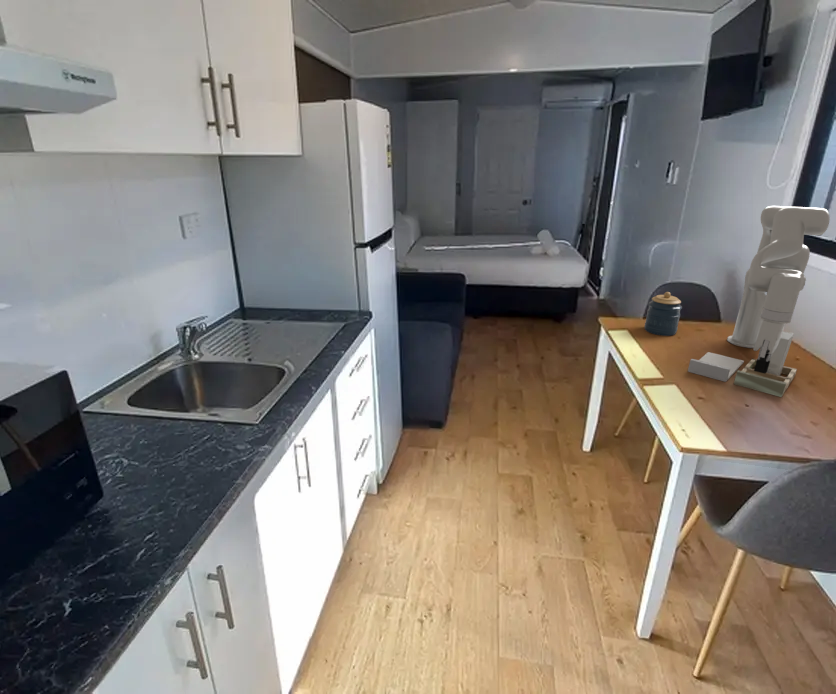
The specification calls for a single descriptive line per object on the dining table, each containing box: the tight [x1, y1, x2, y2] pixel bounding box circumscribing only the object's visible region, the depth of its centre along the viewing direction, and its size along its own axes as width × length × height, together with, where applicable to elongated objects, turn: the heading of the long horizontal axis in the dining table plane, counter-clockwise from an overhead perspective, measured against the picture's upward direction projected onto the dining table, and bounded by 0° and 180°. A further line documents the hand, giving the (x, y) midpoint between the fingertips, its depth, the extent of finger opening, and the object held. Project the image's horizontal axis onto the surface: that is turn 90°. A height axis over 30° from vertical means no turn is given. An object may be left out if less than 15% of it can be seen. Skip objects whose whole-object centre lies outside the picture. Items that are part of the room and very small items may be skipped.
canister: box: [644, 291, 683, 337], centre depth 210 cm, size 13×13×18 cm
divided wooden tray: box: [733, 358, 798, 398], centre depth 166 cm, size 24×13×4 cm, turn 136°
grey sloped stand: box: [687, 351, 745, 383], centre depth 176 cm, size 24×12×4 cm, turn 136°
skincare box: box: [766, 330, 795, 376], centre depth 168 cm, size 8×7×16 cm
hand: (760, 371), depth 153 cm, fingers closed
